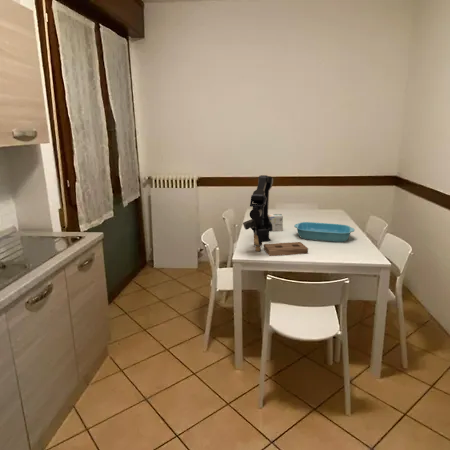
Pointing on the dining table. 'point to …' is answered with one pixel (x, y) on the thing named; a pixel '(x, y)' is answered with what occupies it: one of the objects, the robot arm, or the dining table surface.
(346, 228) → the casserole dish
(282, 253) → the walnut board
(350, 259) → the dining table surface
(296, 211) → the dining table surface
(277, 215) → the light bulb box
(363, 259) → the dining table surface
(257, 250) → the oak peg
